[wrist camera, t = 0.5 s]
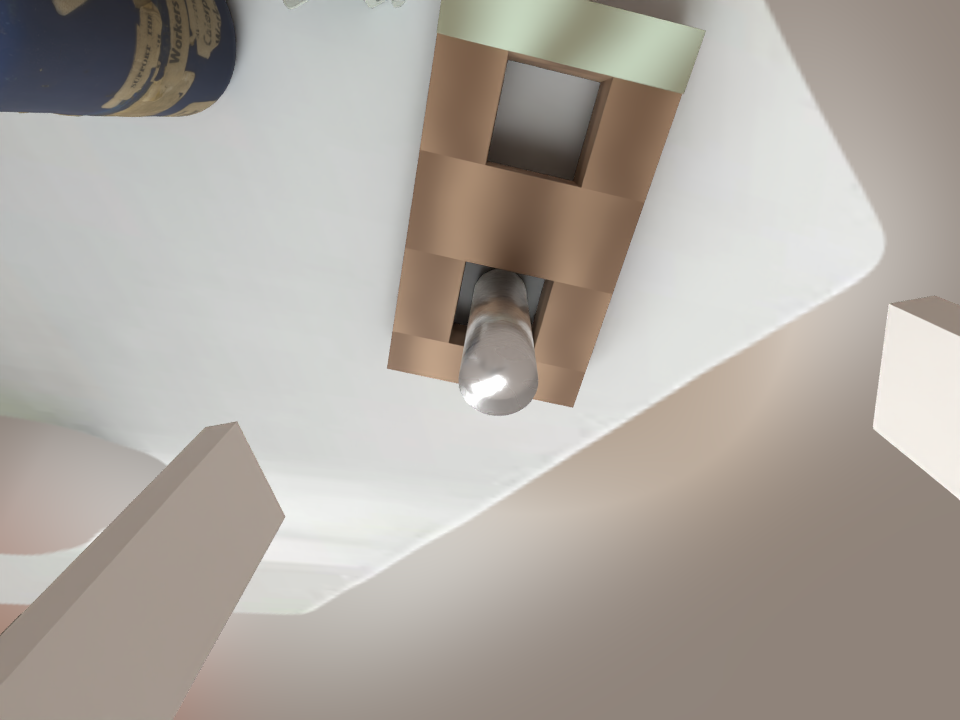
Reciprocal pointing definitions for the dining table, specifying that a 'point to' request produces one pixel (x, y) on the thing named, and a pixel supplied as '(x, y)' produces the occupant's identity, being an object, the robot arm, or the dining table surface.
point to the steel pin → (499, 347)
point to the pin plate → (534, 177)
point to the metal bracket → (372, 0)
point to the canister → (114, 56)
